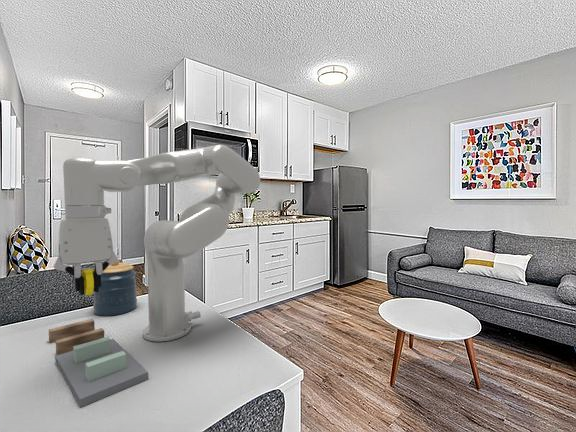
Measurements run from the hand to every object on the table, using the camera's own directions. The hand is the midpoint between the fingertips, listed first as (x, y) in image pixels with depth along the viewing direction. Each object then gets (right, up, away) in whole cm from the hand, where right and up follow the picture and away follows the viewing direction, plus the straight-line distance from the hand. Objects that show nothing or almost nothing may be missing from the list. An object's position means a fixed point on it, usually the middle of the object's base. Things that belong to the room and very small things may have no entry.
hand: (88, 291), depth 71 cm
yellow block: (0, -1, 0) cm, 1 cm away
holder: (-9, -15, +9) cm, 20 cm away
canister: (-12, -14, +33) cm, 38 cm away
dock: (+5, -16, -4) cm, 18 cm away
